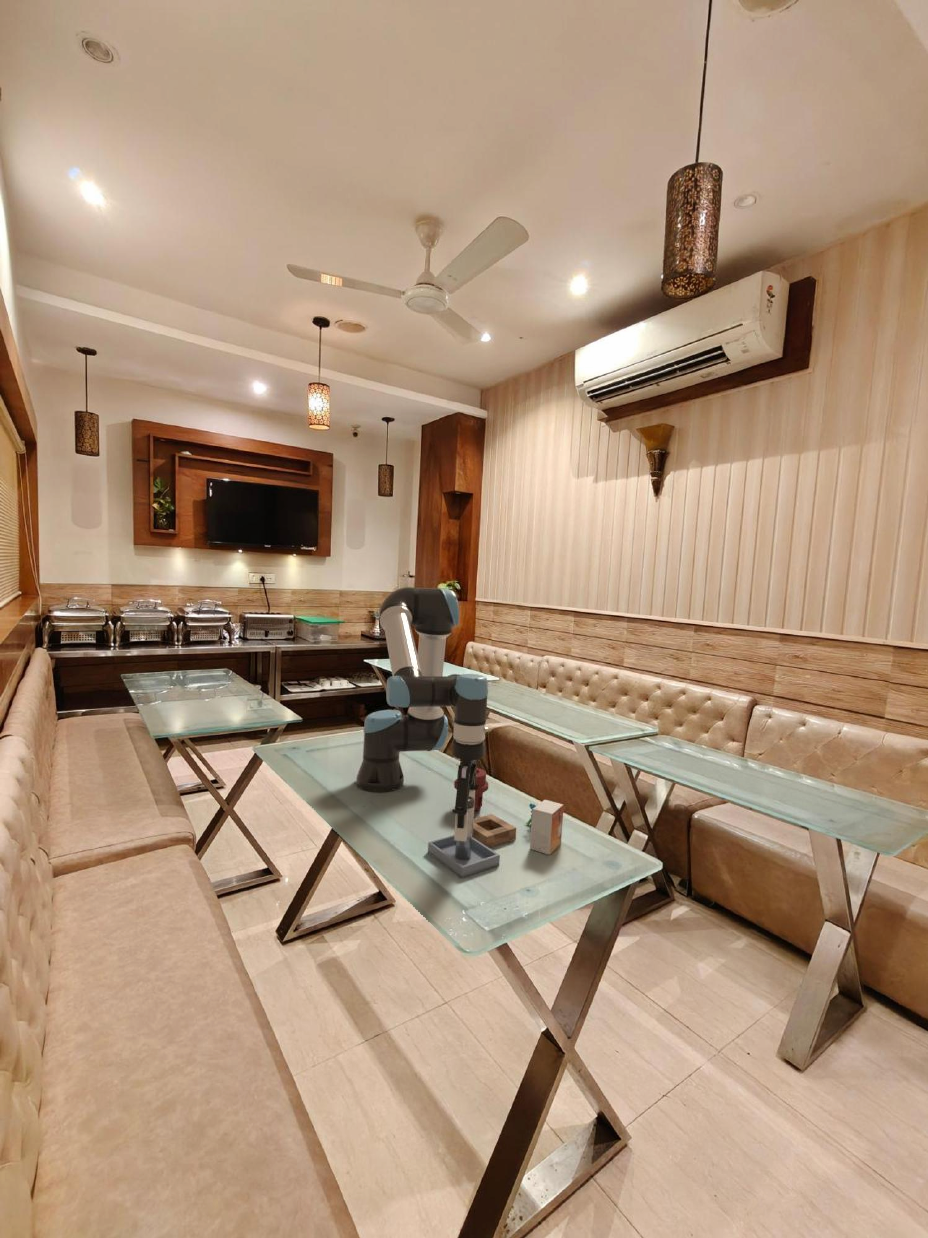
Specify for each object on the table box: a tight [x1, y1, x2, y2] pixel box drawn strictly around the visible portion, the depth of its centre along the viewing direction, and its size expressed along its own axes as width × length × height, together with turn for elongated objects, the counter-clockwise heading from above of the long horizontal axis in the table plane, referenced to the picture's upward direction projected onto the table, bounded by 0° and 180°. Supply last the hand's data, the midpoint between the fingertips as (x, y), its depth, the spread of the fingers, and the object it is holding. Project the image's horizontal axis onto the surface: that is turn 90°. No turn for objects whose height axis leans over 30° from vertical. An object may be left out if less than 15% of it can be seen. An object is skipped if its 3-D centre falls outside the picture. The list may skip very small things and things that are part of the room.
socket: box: [473, 813, 517, 849], centre depth 144 cm, size 10×10×3 cm
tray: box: [427, 834, 501, 879], centre depth 131 cm, size 14×11×2 cm
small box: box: [529, 799, 565, 855], centre depth 139 cm, size 8×6×10 cm
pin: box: [455, 797, 475, 860], centre depth 131 cm, size 4×4×14 cm
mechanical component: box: [453, 767, 489, 812], centre depth 160 cm, size 12×10×10 cm
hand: (464, 827), depth 131 cm, fingers open, 13 cm apart
